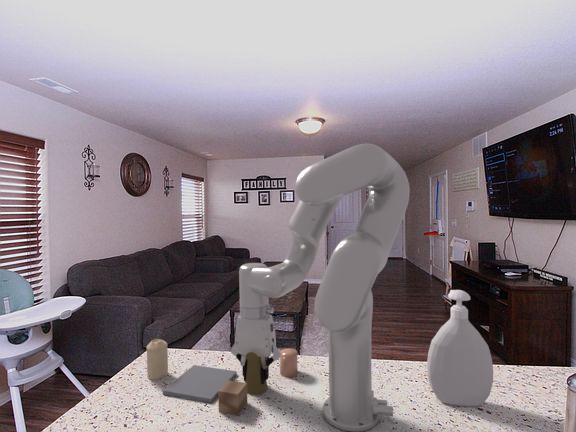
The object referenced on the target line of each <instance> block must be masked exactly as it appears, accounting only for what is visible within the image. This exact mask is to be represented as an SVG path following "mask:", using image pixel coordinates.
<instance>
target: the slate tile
mask: <svg viewBox="0 0 576 432" xmlns="http://www.w3.org/2000/svg"><path fill="white" fill-rule="evenodd" d="M237 375H238V374H237V370H231V369H230V370H229V369H222V368H216V367H210V366H204V365H203V366H202V365H197V364H196V365H195V364H193V365H192V366H191V367H190V368H188V369H187V370H186V371H185V372H183V373H182V374H181V375H180V376H178V377H177V378H176V379H175V380H174V381H172V382H171V383H170V384H169V385H167V386H166V387H165V388H164V389H162V395H164V396H165V395H166V396H171V397H175V398H180V399H181V398H182V399H187V400H193V401H197V402H202V403H203V402H204V403H208V404H212V403H213V402H214V401H215V400H216V399H217V397H218V391H219V390H220V389H221V388H222V387H223V386H224V384H225V383H226V382H227V381H228V380H231V381H233V380H234V379H235V377H236V376H237Z"/></svg>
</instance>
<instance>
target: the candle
mask: <svg viewBox="0 0 576 432" xmlns="http://www.w3.org/2000/svg"><path fill="white" fill-rule="evenodd" d="M168 354H169V353H168V343H167V342H166V341H165V340H163V339H160V338H154V339H151V341H150V342H149V343H148V344H147V345H146V368H147V369H146V370H147V371H146V375H147V378H148V379H149V380H159V379H162V378H165V377H166V376H167V375H168V374H169V362H168V361H169V360H168V359H169V357H168Z"/></svg>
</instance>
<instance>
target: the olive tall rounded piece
mask: <svg viewBox="0 0 576 432" xmlns="http://www.w3.org/2000/svg"><path fill="white" fill-rule="evenodd" d="M245 356H246V359H247V360H248V361H247V373H246V382H245V381H244V383H247V395H248V394H249V395H251V396H253V395H254V396H257V395H261V394H264V393H266V392H267V390H268V383H267V380H265V382H264V384H261V376H260V370H261V368H262V363H261V357H258V356H257V354H255V353H253V352H249V353H247V355H245Z"/></svg>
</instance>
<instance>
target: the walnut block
mask: <svg viewBox="0 0 576 432" xmlns="http://www.w3.org/2000/svg"><path fill="white" fill-rule="evenodd" d="M217 397H218V413H223V414H228V415H234V416H240V414H241V412H242V411H243V410H244V408H245V407H246V406H247V404H248V393H247V383H245V382H244V381H238V380H237V381H236V380H232V381H231V380H228V381H227V382H226V383H225V384H224V386H223V387H222V388H221V389H220V390H219V391H218V396H217Z"/></svg>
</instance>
